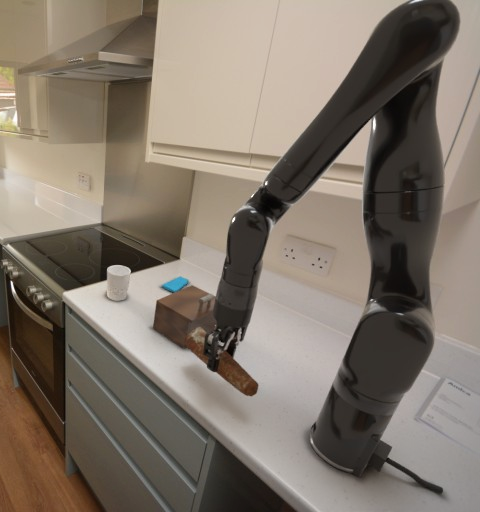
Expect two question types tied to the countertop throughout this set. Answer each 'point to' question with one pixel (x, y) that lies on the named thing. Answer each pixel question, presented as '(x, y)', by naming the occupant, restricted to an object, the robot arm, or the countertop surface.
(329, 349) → the countertop surface
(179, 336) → the bread bin
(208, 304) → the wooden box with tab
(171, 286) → the sponge
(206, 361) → the bread
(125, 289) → the white cup
